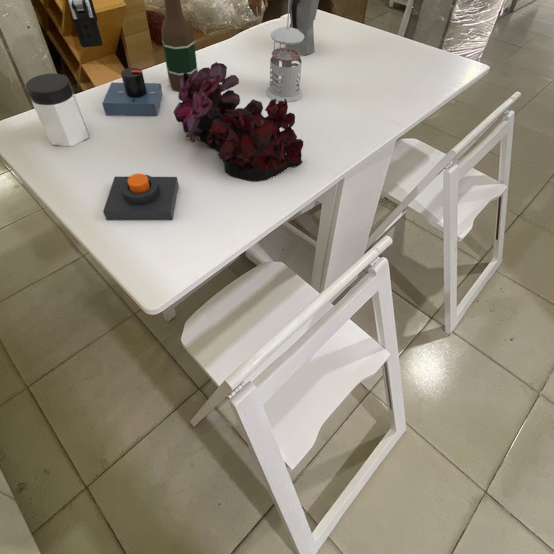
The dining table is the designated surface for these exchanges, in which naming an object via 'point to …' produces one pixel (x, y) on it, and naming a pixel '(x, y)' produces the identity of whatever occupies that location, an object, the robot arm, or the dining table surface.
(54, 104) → the jar
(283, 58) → the french press
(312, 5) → the coffeepot
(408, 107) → the dining table surface
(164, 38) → the beer bottle
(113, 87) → the dial base
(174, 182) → the switch block
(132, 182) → the button
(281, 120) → the flower arrangement
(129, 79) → the temp dial
